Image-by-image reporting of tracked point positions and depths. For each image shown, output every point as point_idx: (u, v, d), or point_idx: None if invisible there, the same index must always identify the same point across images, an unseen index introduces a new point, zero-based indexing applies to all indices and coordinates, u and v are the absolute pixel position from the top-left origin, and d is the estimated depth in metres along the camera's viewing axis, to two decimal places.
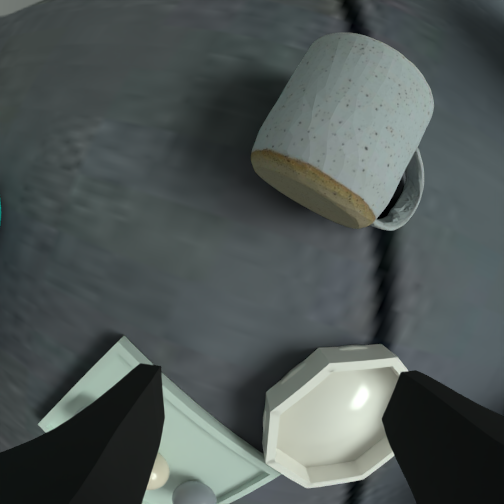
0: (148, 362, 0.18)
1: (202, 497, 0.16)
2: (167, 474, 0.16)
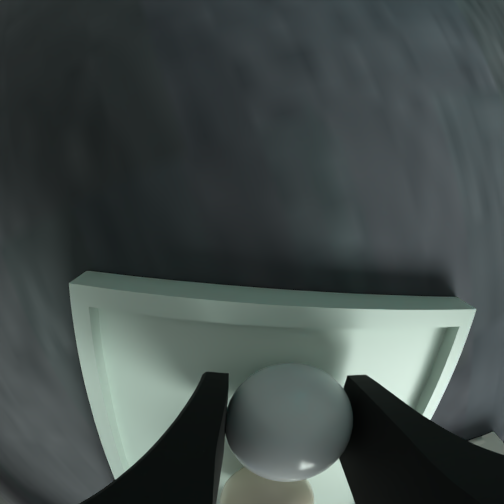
0: None
1: None
2: None
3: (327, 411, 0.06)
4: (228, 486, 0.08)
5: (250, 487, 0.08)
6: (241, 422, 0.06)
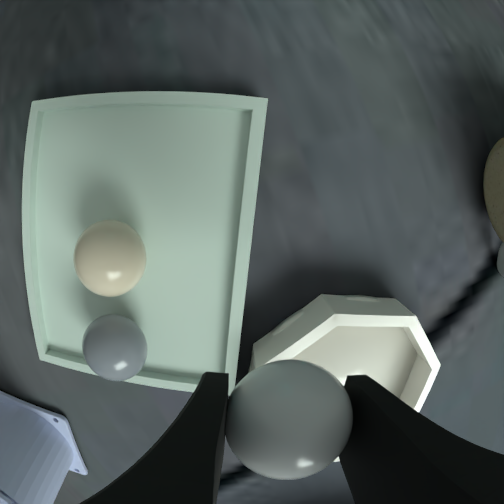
0: None
1: (137, 352, 0.13)
2: (132, 287, 0.13)
3: (326, 408, 0.06)
4: None
5: None
6: (240, 419, 0.06)
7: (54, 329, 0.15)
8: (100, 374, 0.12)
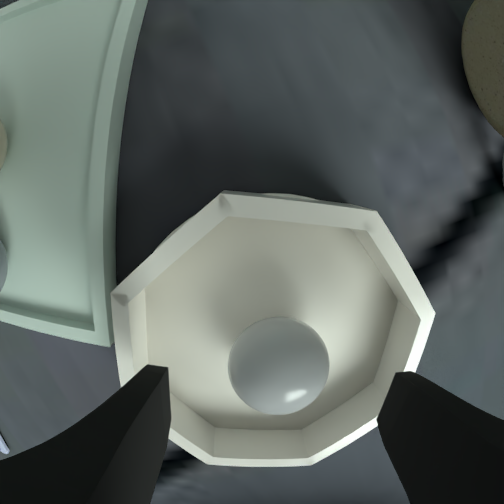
0: (140, 17, 0.09)
1: None
2: None
3: (306, 348, 0.09)
4: None
5: None
6: (240, 358, 0.09)
7: None
8: None
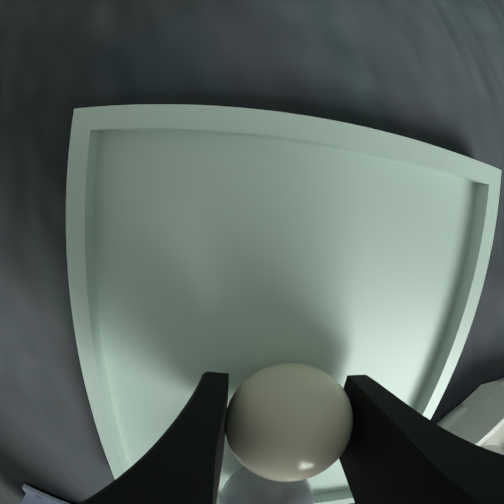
0: None
1: None
2: None
3: None
4: (237, 393, 0.07)
5: (269, 385, 0.07)
6: None
7: None
8: None
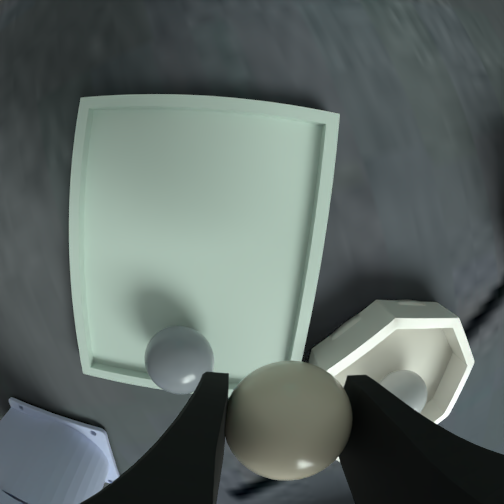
0: None
1: (208, 364, 0.13)
2: None
3: (422, 386, 0.14)
4: (236, 391, 0.07)
5: (267, 383, 0.07)
6: None
7: (101, 341, 0.15)
8: (168, 389, 0.13)
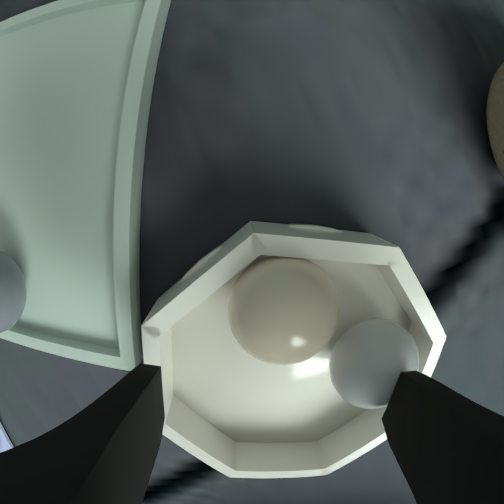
0: (160, 36, 0.09)
1: (1, 292, 0.08)
2: (292, 284, 0.08)
3: None
4: None
5: None
6: (402, 343, 0.09)
7: None
8: None
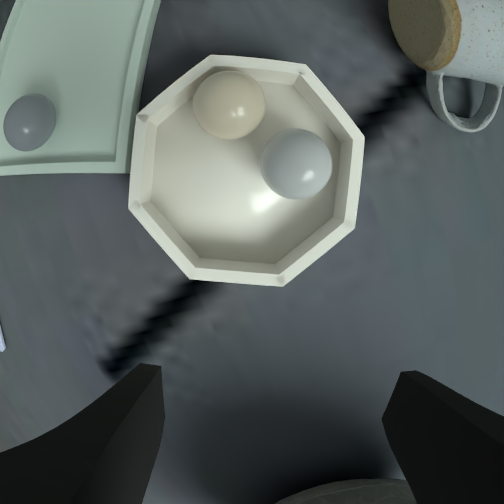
0: None
1: (42, 110, 0.12)
2: (228, 75, 0.12)
3: None
4: None
5: None
6: (303, 141, 0.12)
7: None
8: (8, 132, 0.11)
